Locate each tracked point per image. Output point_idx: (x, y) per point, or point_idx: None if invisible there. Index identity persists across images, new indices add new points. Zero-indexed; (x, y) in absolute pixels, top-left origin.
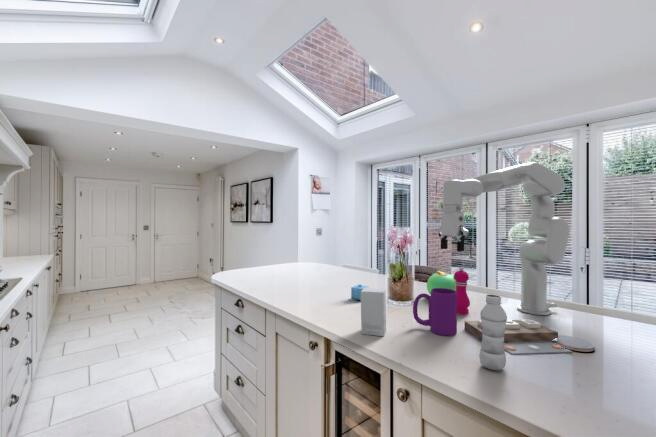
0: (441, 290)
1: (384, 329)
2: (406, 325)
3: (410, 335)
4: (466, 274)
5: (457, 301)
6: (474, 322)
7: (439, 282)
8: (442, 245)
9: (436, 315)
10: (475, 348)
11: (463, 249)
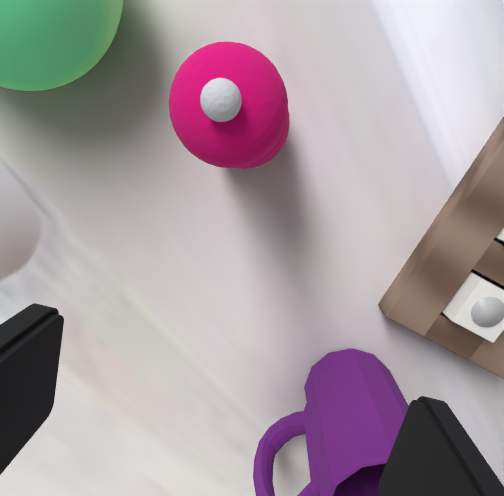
0: (345, 469)
1: None
2: (238, 433)
3: (307, 484)
4: (281, 110)
5: (250, 165)
6: (421, 301)
7: (20, 59)
8: (20, 442)
9: (363, 471)
10: (485, 418)
11: (447, 424)
